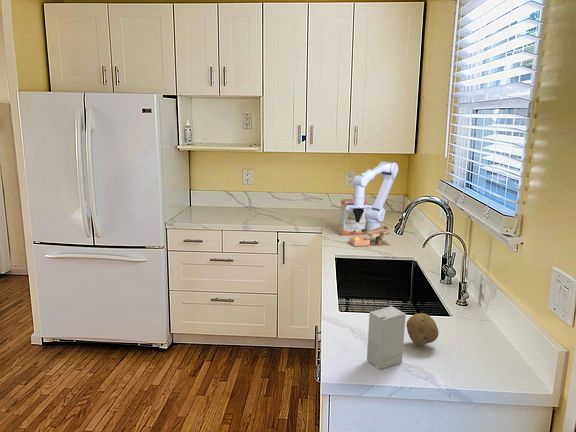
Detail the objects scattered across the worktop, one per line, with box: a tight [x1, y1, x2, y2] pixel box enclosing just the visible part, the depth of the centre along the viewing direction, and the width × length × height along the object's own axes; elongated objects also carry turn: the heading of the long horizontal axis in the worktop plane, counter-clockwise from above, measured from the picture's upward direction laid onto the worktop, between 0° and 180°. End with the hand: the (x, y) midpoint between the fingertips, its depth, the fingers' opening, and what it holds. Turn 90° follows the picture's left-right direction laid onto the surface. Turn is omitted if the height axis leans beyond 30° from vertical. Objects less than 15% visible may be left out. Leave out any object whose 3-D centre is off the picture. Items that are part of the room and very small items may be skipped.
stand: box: [348, 232, 392, 248], centre depth 248 cm, size 9×21×8 cm, turn 103°
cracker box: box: [338, 198, 368, 236], centre depth 270 cm, size 14×6×21 cm, turn 109°
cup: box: [349, 236, 371, 247], centre depth 247 cm, size 7×8×3 cm
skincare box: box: [366, 305, 407, 370], centre depth 127 cm, size 8×6×15 cm
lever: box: [361, 224, 391, 239], centre depth 252 cm, size 13×11×4 cm
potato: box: [406, 312, 440, 348], centre depth 138 cm, size 9×9×10 cm
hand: (357, 222), depth 258 cm, fingers closed
